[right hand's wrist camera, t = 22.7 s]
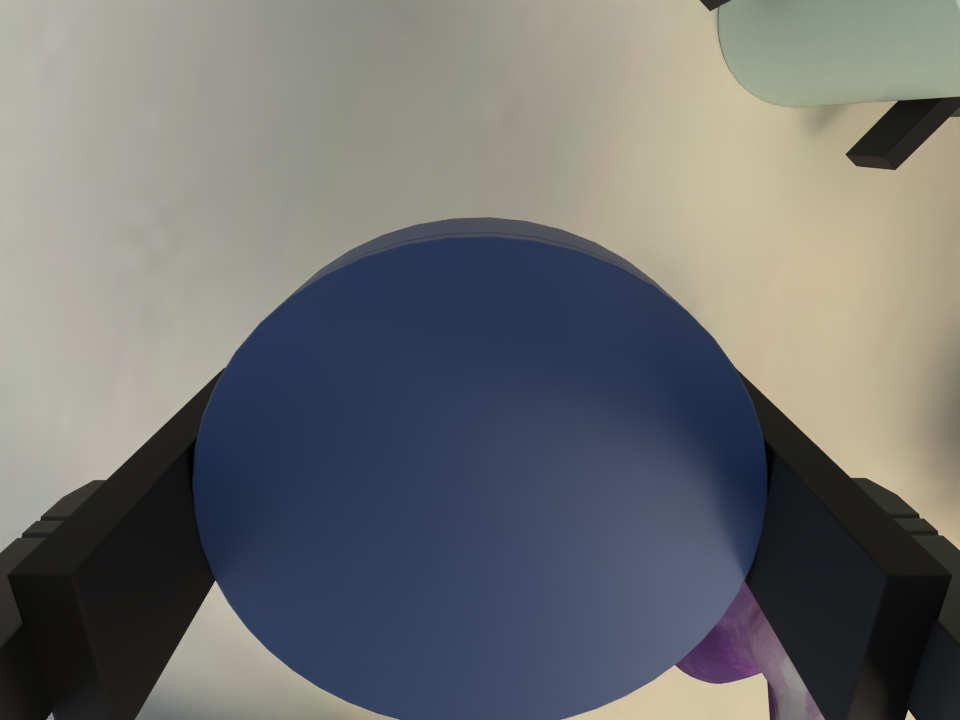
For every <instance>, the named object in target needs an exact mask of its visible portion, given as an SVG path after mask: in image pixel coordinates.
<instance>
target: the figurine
mask: <svg viewBox="0 0 960 720" xmlns="http://www.w3.org/2000/svg"><path fill="white" fill-rule="evenodd" d="M675 665H676V666H677V667H678V668H679V669H680V670H682V671H683V672H684V673H686V674H688V675H689V676H691V677H694V678H696V679H698V680H702V681H705V682H709V683H715V684H722V683H728V682H733V681H737V680H741V679H744V678H748V677H751V676H754V675H756V674H759V673H761V672H762V674H763V675H764V677H765V678H766V680H767V683H768V698H769V712H770V720H825V719H824V717H823V716H822V714H821V712H820V710H819V709H818V707H817V705H816V703H815V702H814V700H813V698H812V697H811V695H810V693H809V691H808V690H807V688H806V686H805V684H804V683H803V681H802V679H801V678H800V676H799V674H798V672H797V671H796V669H795V667H794V665H793V664H792V662H791V660H790V659H789V657H788V655H787V653H786V652H785V650H784V648H783V646H782V645H781V643H780V641H779V640H778V638H777V636H776V634H775V633H774V631H773V629H772V627H771V626H770V624H769V622H768V621H767V619H766V617H765V615H764V614H763V612H762V610H761V608H760V607H759V605H758V603H757V602H756V600H755V598H754V596H753V595H752V593H751V591H750V589H749V588H748V586H747V584H746V583H745V581H744V583H743V585H742V587H741V589H740V591H739V592H738V594H737V595H736V597H735V598H734V600H733V601H732V603H731V605H730V606H729V608H728V609H727V611H726V612H725V614H724V615H723V617H722V618H721V619H720V620H719V621H718V623H717V624H716V625H715V626H714V627H713V628H712V630H711V631H710V632H709V633H708V634H707V635H706V637H705V638H704V639H703V640H702V641H701V642H700V643H699V644H698V645H697V646H696V647H694V648H693V649H692V650H691V651H690V652H689V653H688V654H687V655H686V656H685V657H684V658H682V659H681V660H680V661H679V662H678V663H676V664H675Z"/></svg>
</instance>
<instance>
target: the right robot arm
mask: <svg viewBox="0 0 960 720" xmlns="http://www.w3.org/2000/svg"><path fill="white" fill-rule="evenodd" d="M224 370H225V368H224V369H223V370H221V371H220V372H219V373H218V374H217V375H216V376H215V377H214V378H213V379H212V380H211V381H210V382H209V383H208V384H207V385H206V386H205V387H204V388H203V389H202V390H200V391H199V392H198V393H197V394H196V395H195V396H194V397H193V398H192V399H191V400H190V401H189V402H188V403H187V404H186V405H185V406H184V407H183V408H182V409H181V410H180V411H178V412H177V413H176V414H175V415H174V416H173V417H172V418H171V419H170V420H169V421H168V422H167V423H166V424H165V425H164V426H163V427H162V428H161V429H160V430H159V431H158V432H156V433H155V434H154V435H153V436H152V437H151V438H150V439H149V440H148V441H147V442H146V443H145V444H144V445H143V446H142V447H141V448H140V449H139V450H138V451H137V452H135V453H134V454H133V455H132V456H131V457H130V458H129V459H128V460H127V461H126V462H125V463H124V464H123V465H122V466H121V467H120V468H119V469H118V470H117V471H116V472H115V473H113V474H112V475H111V476H110V477H109V478H108V479H107V480H93V481H92V482H90V483H88V484H86V485H84V486H82V487H81V488H79V489H77V490H75V491H73V492H71V493H70V494H68V495H66V496H64V497H63V498H61V499H60V500H59V501H58V502H57V503H56V504H55V505H54V506H53V507H51V508H50V509H49V510H48V511H47V512H46V513H45V514H44V515H42V516H41V520H40V521H36V522H35V523H34V524H32V525H31V526H30V527H29V528H28V529H27V530H26V531H25V532H23V533H22V538H17V539H16V540H15V541H13V542H12V543H11V544H10V545H9V546H8V547H7V548H6V549H4V550H3V551H2V552H1V553H0V720H46V719H47V718H48V716H49V715H50V714H51V712H52V713H53V716H54V719H55V720H135V718H136V717H137V715H138V713H139V711H140V710H141V708H142V706H143V704H144V703H145V701H146V699H147V698H148V696H149V694H150V692H151V691H152V689H153V687H154V685H155V684H156V682H157V680H158V679H159V677H160V675H161V673H162V672H163V670H164V668H165V666H166V665H167V663H168V661H169V660H170V658H171V656H172V654H173V653H174V651H175V649H176V647H177V646H178V644H179V642H180V641H181V639H182V637H183V635H184V634H185V632H186V630H187V628H188V627H189V625H190V623H191V622H192V620H193V618H194V616H195V615H196V613H197V611H198V610H199V608H200V606H201V604H202V603H203V601H204V599H205V597H206V596H207V594H208V592H209V591H210V589H211V587H212V585H213V584H214V582H215V578H214V576H213V574H212V572H211V569H210V567H209V564H208V562H207V559H206V556H205V554H204V551H203V549H202V546H201V542H200V537H199V533H198V528H197V523H196V518H195V513H194V504H193V490H192V475H193V463H194V451H195V445H196V441H197V437H198V433H199V429H200V425H201V421H202V417H203V414H204V411H205V409H206V407H207V404H208V402H209V399H210V397H211V395H212V392H213V390H214V387H215V385H216V383H217V381H218V380H219V378H220V376H221V375H222V373H223V371H224ZM736 370H737V369H736ZM737 372H738V374H739V376H740V378H741V380H742V382H743V384H744V386H745V388H746V390H747V392H748V394H749V396H750V398H751V399H752V402H753V405H754V408H755V411H756V414H757V418H758V421H759V424H760V427H761V430H762V433H763V439H764V445H765V452H766V458H767V465H768V501H767V506H766V512H765V517H764V523H763V528H762V533H761V538H760V542H759V545H758V549H757V552H756V555H755V558H754V561H753V564H752V566H751V568H750V570H749V572H748V574H747V576H746V578H745V580H744V581H745V583H746V584H747V586H748V588H749V589H750V591H751V593H752V595H753V596H754V598H755V600H756V602H757V603H758V605H759V607H760V608H761V610H762V612H763V614H764V615H765V617H766V619H767V621H768V622H769V624H770V626H771V627H772V629H773V631H774V633H775V634H776V636H777V638H778V640H779V641H780V643H781V645H782V646H783V648H784V650H785V652H786V653H787V655H788V657H789V659H790V660H791V662H792V664H793V665H794V667H795V669H796V671H797V672H798V674H799V676H800V678H801V679H802V681H803V683H804V684H805V686H806V688H807V690H808V691H809V693H810V695H811V697H812V698H813V700H814V702H815V703H816V705H817V707H818V709H819V710H820V712H821V714H822V716H823V717H824V719H825V720H905V718H906V715H907V712H908V710H909V711H910V712H911V714H912V715H913V716H914V718H915V719H916V720H960V550H959V549H957V548H956V547H955V546H954V545H953V544H952V543H951V542H950V541H948V540H947V539H946V538H945V537H944V536H939V535H938V531H937V530H936V529H935V528H934V527H933V526H932V525H930V524H929V523H928V522H927V521H926V520H925V519H920V517H919V514H918V513H917V512H916V511H915V510H914V509H912V508H911V507H910V506H909V505H908V504H907V503H906V502H905V501H903V500H902V499H901V498H900V497H899V496H898V495H896V494H895V493H893V492H891V491H889V490H887V489H885V488H883V487H882V486H880V485H878V484H876V483H874V482H872V481H871V480H869V479H867V478H850V477H849V476H848V475H847V474H846V473H845V472H844V471H843V470H842V469H841V468H840V467H839V466H838V465H837V464H836V463H835V462H833V461H832V460H831V459H830V458H829V457H828V456H827V455H826V454H825V453H824V452H823V451H822V450H821V449H820V448H819V447H818V446H817V445H816V444H815V443H814V442H813V441H811V440H810V439H809V438H808V437H807V436H806V435H805V434H804V433H803V432H802V431H801V430H800V429H799V428H798V427H797V426H796V425H795V424H794V423H793V422H792V421H791V420H789V419H788V418H787V417H786V416H785V415H784V414H783V413H782V412H781V411H780V410H779V409H778V408H777V407H776V406H775V405H774V404H773V403H772V402H771V401H770V400H769V399H767V398H766V397H765V396H764V395H763V394H762V393H761V392H760V391H759V390H758V389H757V388H756V387H755V386H754V385H753V384H752V383H751V382H750V381H749V380H748V379H746V378H745V377H744V376H743V375H742V374H741V373H740V372H739V371H738V370H737Z"/></svg>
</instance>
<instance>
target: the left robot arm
mask: <svg viewBox="0 0 960 720" xmlns="http://www.w3.org/2000/svg"><path fill="white" fill-rule="evenodd" d="M700 1H701V2H702V3H703V4H704V5H705V6H706V7H707V8H708V9H709V11H711V10H713V9H715V8H717V7H719V6H721V5H723V4H725V3H727V2H729V1H731V0H700ZM949 117H960V96H959V97H944V98H929V99H913V100H899V101H898V102H897V103H896V104H895V105H894V106H893V107H892V108H891V109H890V110H889V111H888V112H887V113H886V114H885V115H884V116H883V117H882V118H881V119H880V120H879V121H878V122H877V123H876V124H875V125H874V126H873V127H872V128H871V129H870V130H869V131H868V132H867V133H866V134H865V135H864V136H863V137H862V138H861V139H860V140H859V141H858V142H857V143H856V144H855V145H854V146H853V147H852V148H851V149H850V150H849V151H848V152H847V153H846V154H845V155H846V156H847V157H848V158H849V159H850V160H851V161H852V162H853V163H854V164H855V165H856V166H860V167H870V168H880V169H890V170H896V169H897V168H898V167H899V166H900V165H901V164H902V163H903V162H904V161H905V160H906V159H907V158H908V157H909V156H910V155H911V154H912V153H913V152H914V151H915V150H916V149H917V148H918V147H919V146H920V145H921V144H922V143H923V142H924V141H925V140H926V139H927V138H928V137H929V136H930V135H931V134H932V133H933V132H935V131H936V130H937V129H938V128H939V127H940V126H941V125H942V124H943V123H944V122H945V121H946V120H947V119H948V118H949Z"/></svg>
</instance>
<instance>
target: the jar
mask: <svg viewBox="0 0 960 720" xmlns="http://www.w3.org/2000/svg"><path fill="white" fill-rule="evenodd" d="M718 28H719V39H720V44H721V49H722V52H723V55H724V58H725V61H726V63H727V65H728V67H729V69H730V71H731V72H732V74H733V75H734V77H735V78H736V80H737V81H738V82H739V83H740V84H741V85H742V86H743V87H744V88H745V89H746V90H747V91H749V92H750V93H751V94H752V95H754V96H756V97H757V98H759V99H761V100H763V101H765V102H768V103H771V104H774V105H778V106H783V107H806V106H822V105H837V104H852V103H867V102H883V101H898V100H913V99H929V98H944V97H959V96H960V0H731V1H729V2H727V3H725V4H723V5H721V6H719V17H718Z"/></svg>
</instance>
